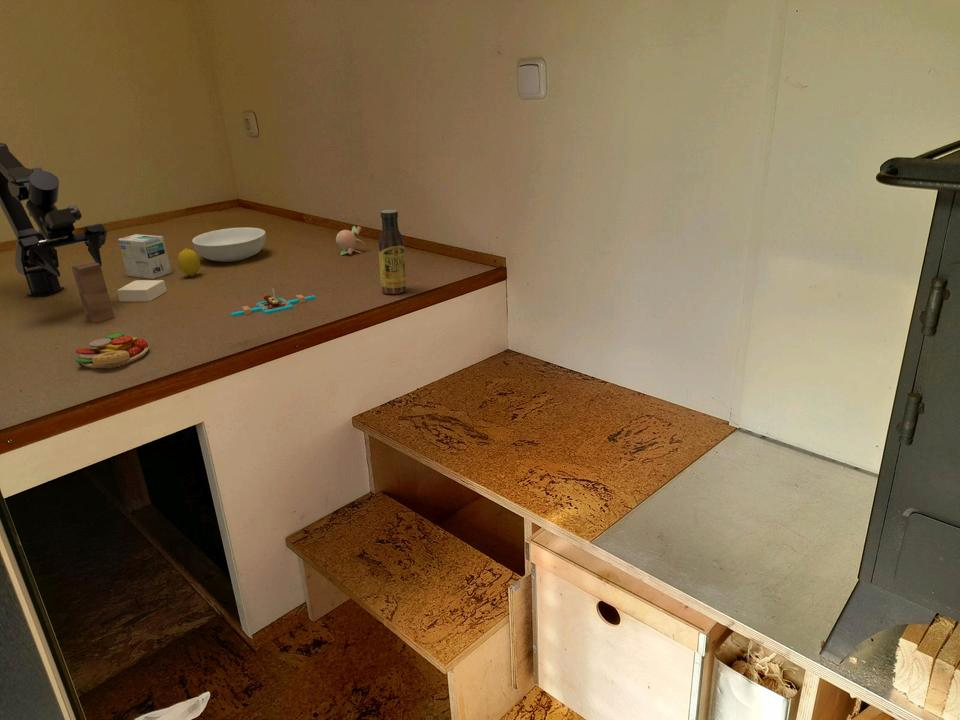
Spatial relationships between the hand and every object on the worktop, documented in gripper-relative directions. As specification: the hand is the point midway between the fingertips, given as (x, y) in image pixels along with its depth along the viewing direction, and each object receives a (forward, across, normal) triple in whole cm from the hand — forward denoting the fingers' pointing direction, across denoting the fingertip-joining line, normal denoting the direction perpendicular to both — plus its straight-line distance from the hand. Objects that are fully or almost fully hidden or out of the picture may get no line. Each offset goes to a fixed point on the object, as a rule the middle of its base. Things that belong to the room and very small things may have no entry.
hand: (80, 270), depth 160 cm
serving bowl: (-4, +48, +20) cm, 52 cm away
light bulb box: (-8, +24, +24) cm, 35 cm away
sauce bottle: (+42, +53, -26) cm, 73 cm away
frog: (+14, +71, +2) cm, 73 cm away
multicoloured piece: (+31, +29, -14) cm, 45 cm away
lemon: (+1, +30, +15) cm, 34 cm away
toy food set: (+30, -9, -14) cm, 35 cm away
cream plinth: (+5, +14, +10) cm, 18 cm away
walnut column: (+11, 0, +5) cm, 12 cm away
